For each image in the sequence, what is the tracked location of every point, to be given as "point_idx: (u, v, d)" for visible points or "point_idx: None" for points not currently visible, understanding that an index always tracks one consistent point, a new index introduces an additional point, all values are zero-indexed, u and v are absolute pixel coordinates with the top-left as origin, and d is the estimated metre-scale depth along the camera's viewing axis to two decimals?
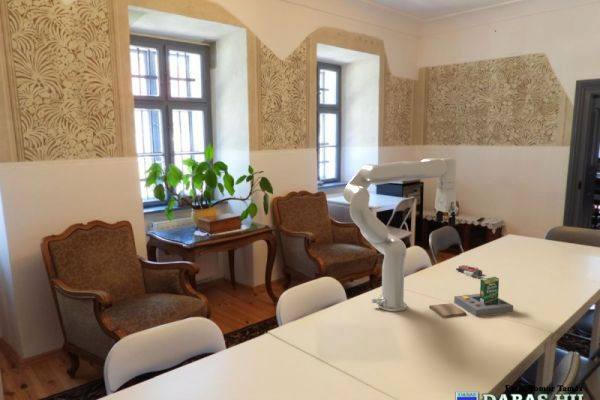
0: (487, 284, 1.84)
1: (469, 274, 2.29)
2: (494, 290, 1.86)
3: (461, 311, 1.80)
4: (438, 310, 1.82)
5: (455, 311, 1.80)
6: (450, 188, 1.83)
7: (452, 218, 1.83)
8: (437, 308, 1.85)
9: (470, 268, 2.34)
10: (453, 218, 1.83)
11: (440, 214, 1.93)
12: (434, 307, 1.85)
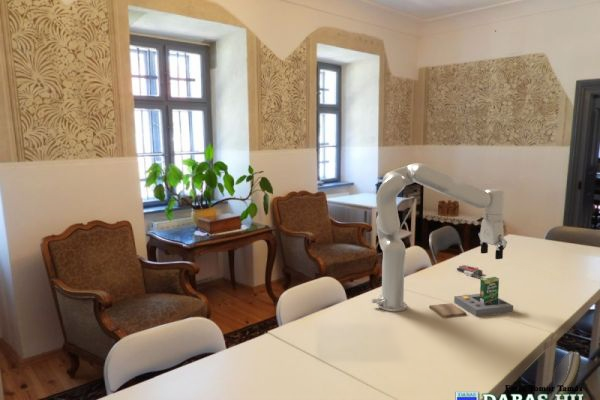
0: (487, 284, 1.84)
1: (469, 274, 2.29)
2: (494, 290, 1.86)
3: (461, 311, 1.80)
4: (438, 310, 1.82)
5: (455, 311, 1.80)
6: (498, 220, 1.79)
7: (500, 251, 1.78)
8: (437, 308, 1.85)
9: (470, 268, 2.35)
10: (501, 251, 1.78)
11: (485, 245, 1.88)
12: (434, 307, 1.85)
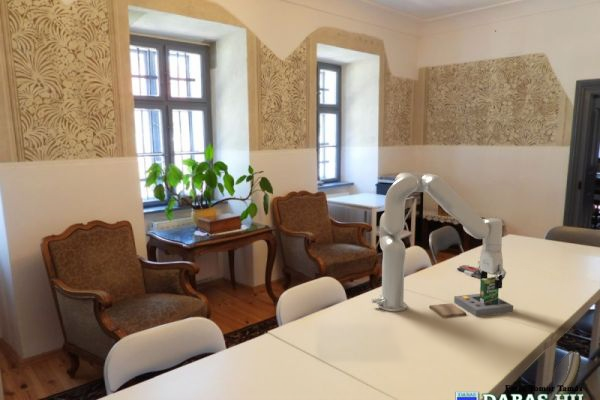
0: (487, 284, 1.84)
1: (469, 274, 2.30)
2: (494, 290, 1.86)
3: (461, 311, 1.80)
4: (438, 310, 1.82)
5: (455, 311, 1.80)
6: (497, 250, 1.80)
7: (499, 281, 1.80)
8: (437, 308, 1.85)
9: (471, 268, 2.35)
10: (500, 281, 1.80)
11: (484, 273, 1.90)
12: (434, 307, 1.85)
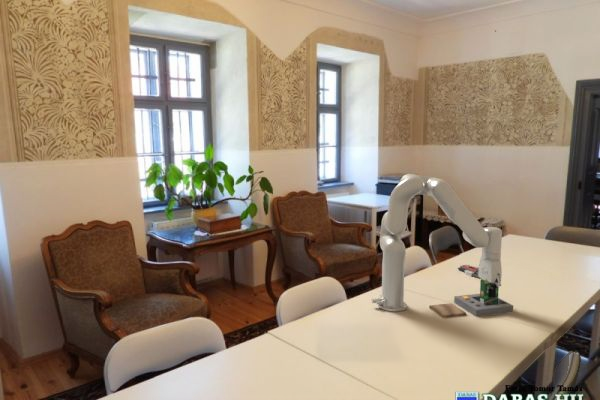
0: (487, 284, 1.84)
1: (469, 273, 2.30)
2: None
3: (461, 311, 1.80)
4: (438, 310, 1.82)
5: (455, 311, 1.80)
6: (496, 259, 1.81)
7: (493, 290, 1.84)
8: (437, 308, 1.85)
9: (471, 268, 2.35)
10: (494, 290, 1.84)
11: None
12: (434, 307, 1.85)
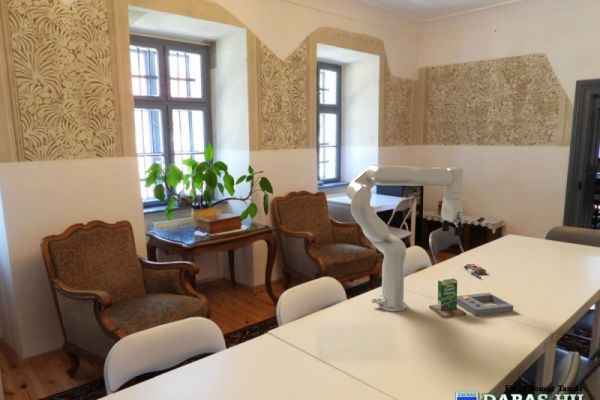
0: (444, 286, 1.80)
1: (470, 272, 2.33)
2: (452, 292, 1.81)
3: (461, 311, 1.80)
4: (438, 310, 1.82)
5: (455, 311, 1.80)
6: (457, 198, 1.83)
7: (458, 228, 1.83)
8: (437, 308, 1.85)
9: (475, 267, 2.37)
10: (459, 228, 1.83)
11: (446, 223, 1.93)
12: (434, 307, 1.85)
